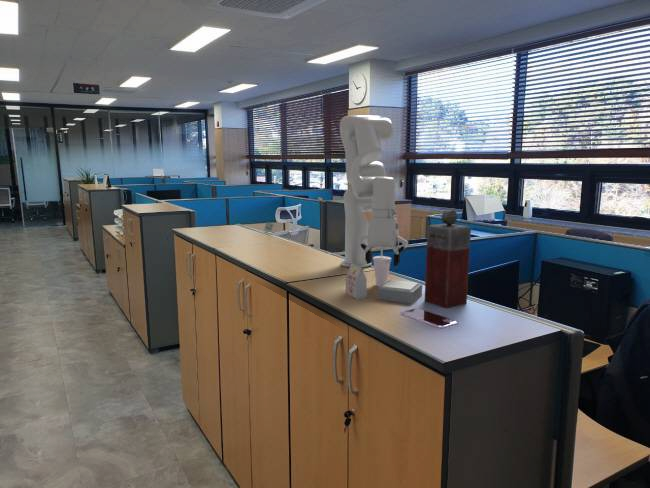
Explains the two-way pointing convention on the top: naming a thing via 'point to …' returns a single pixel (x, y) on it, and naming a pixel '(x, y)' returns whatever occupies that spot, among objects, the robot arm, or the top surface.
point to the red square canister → (447, 262)
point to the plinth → (400, 291)
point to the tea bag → (356, 282)
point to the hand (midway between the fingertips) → (382, 264)
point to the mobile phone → (429, 318)
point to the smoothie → (381, 268)
